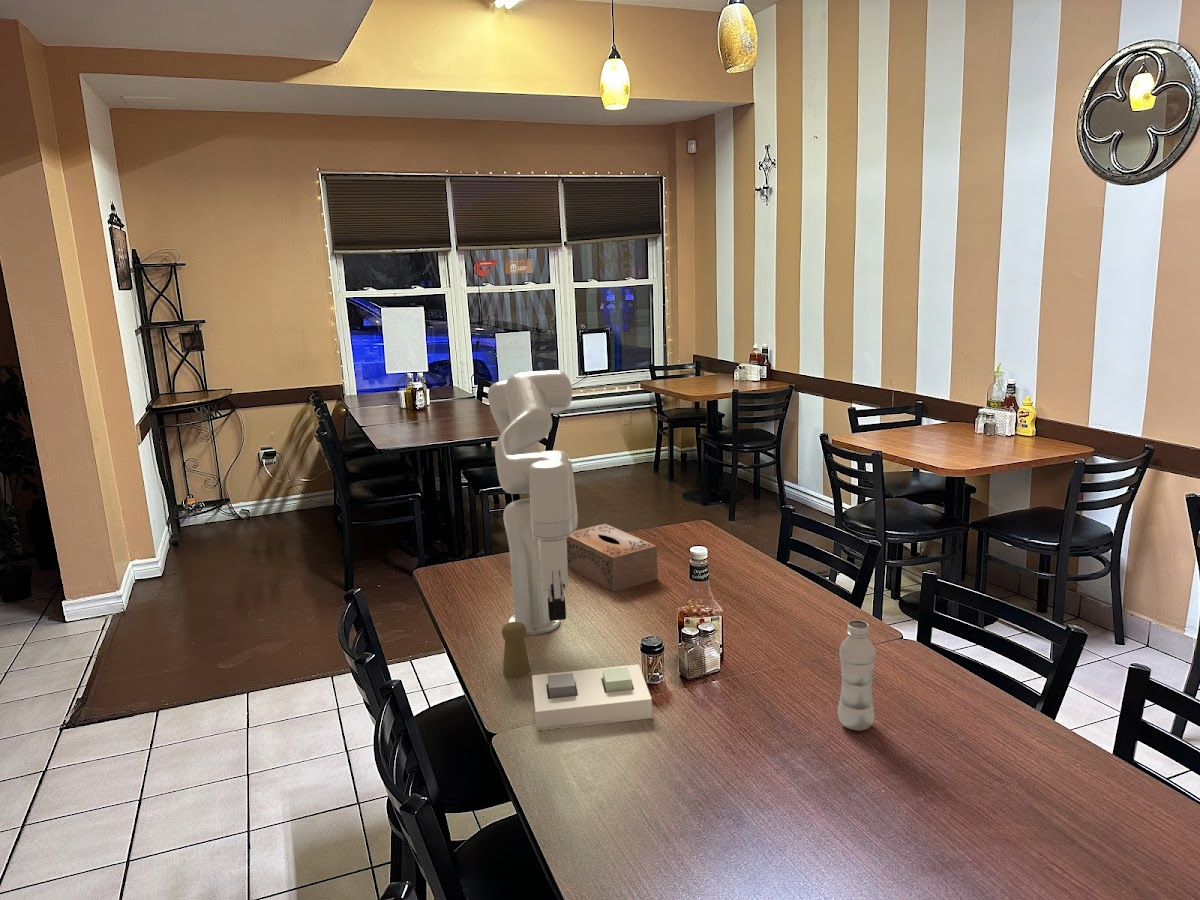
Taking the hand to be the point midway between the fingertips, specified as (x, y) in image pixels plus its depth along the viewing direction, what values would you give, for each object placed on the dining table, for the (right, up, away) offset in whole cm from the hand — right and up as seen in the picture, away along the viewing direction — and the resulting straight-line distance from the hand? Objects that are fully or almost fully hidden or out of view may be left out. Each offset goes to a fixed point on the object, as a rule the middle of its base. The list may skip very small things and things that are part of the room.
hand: (557, 618), depth 153 cm
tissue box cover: (+11, -3, +74) cm, 75 cm away
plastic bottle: (+55, -19, -6) cm, 58 cm away
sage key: (+12, -15, +5) cm, 19 cm away
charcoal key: (+1, -16, +4) cm, 16 cm away
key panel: (+6, -18, +5) cm, 20 cm away
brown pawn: (-10, -16, +20) cm, 27 cm away
